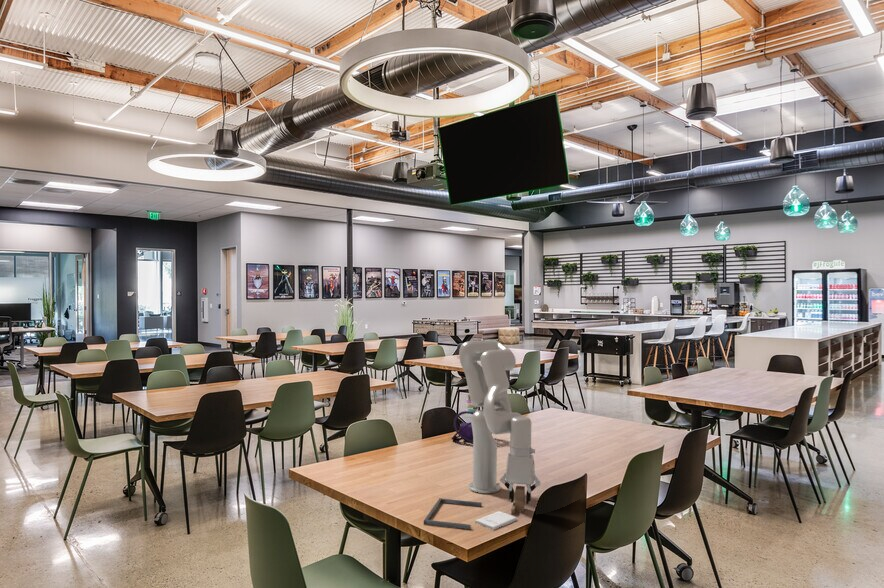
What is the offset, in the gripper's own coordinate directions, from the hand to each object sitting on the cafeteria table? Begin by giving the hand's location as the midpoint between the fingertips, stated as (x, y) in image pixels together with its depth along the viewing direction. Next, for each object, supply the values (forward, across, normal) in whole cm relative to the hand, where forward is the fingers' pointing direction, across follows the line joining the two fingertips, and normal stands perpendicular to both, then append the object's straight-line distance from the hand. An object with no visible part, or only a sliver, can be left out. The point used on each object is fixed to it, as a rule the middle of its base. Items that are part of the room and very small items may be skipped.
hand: (519, 501), depth 196 cm
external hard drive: (+4, +7, +13) cm, 15 cm away
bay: (+3, +22, +11) cm, 24 cm away
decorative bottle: (+3, +36, -94) cm, 101 cm away
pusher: (+3, 0, 0) cm, 3 cm away
